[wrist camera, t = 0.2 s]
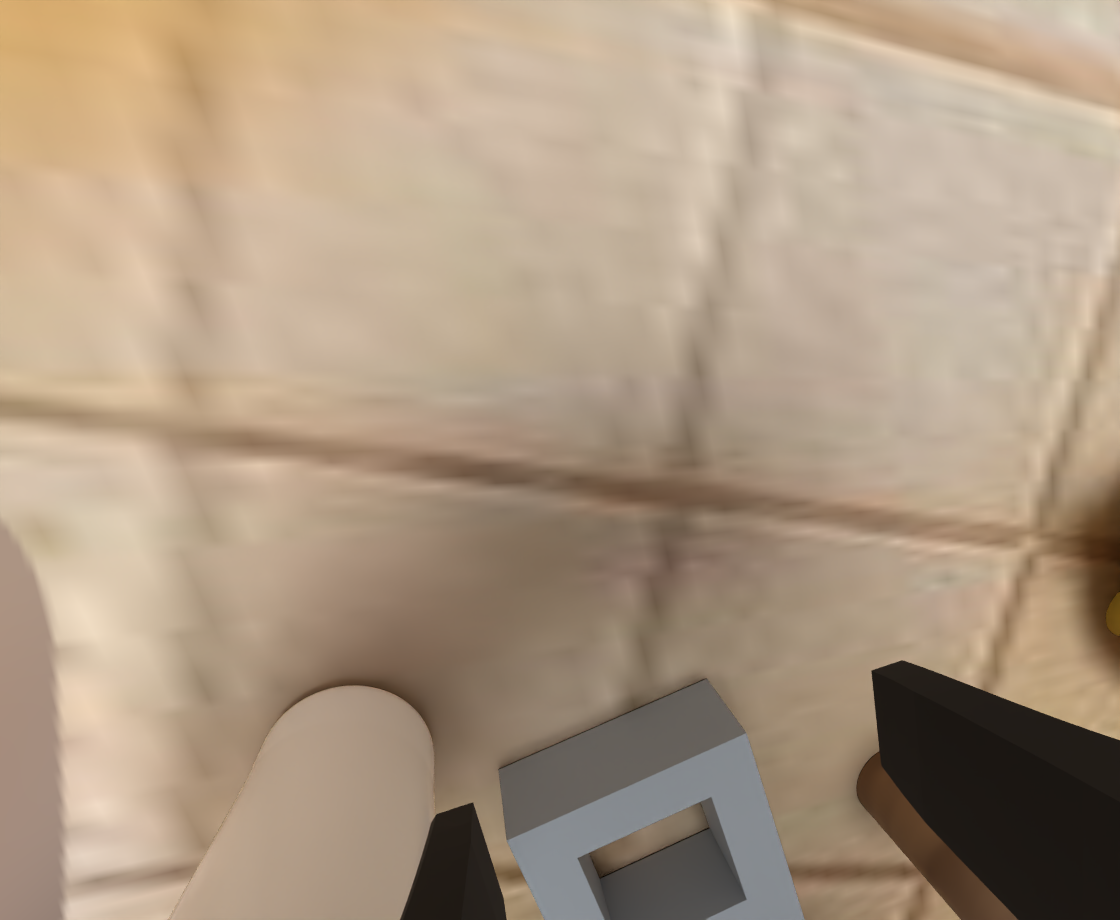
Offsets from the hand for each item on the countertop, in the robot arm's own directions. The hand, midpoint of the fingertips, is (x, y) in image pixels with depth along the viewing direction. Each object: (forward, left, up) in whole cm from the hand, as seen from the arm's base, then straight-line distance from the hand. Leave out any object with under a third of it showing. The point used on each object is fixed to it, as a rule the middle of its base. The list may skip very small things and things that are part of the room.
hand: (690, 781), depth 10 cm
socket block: (-11, +1, -10) cm, 15 cm away
